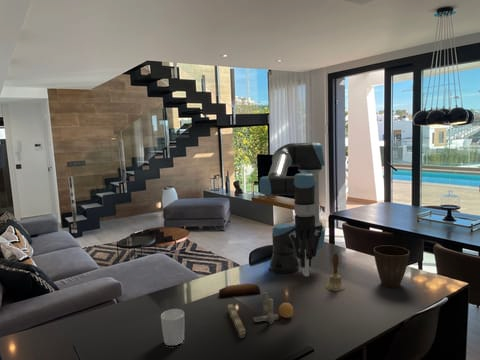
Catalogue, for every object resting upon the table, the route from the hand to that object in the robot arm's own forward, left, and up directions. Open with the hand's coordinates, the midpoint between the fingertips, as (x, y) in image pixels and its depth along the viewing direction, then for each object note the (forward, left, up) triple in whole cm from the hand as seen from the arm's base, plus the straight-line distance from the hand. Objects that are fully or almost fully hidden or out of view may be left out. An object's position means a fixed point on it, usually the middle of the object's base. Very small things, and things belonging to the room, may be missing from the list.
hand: (305, 274), depth 139 cm
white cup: (+5, -51, -16) cm, 54 cm away
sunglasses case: (-27, -21, -16) cm, 38 cm away
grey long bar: (0, -28, -15) cm, 32 cm away
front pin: (+1, -12, -15) cm, 19 cm away
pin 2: (+3, -16, -15) cm, 22 cm away
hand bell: (-18, +22, -16) cm, 32 cm away
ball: (+1, -8, -13) cm, 15 cm away
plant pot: (-13, +47, -16) cm, 51 cm away
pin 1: (-3, -16, -15) cm, 22 cm away
